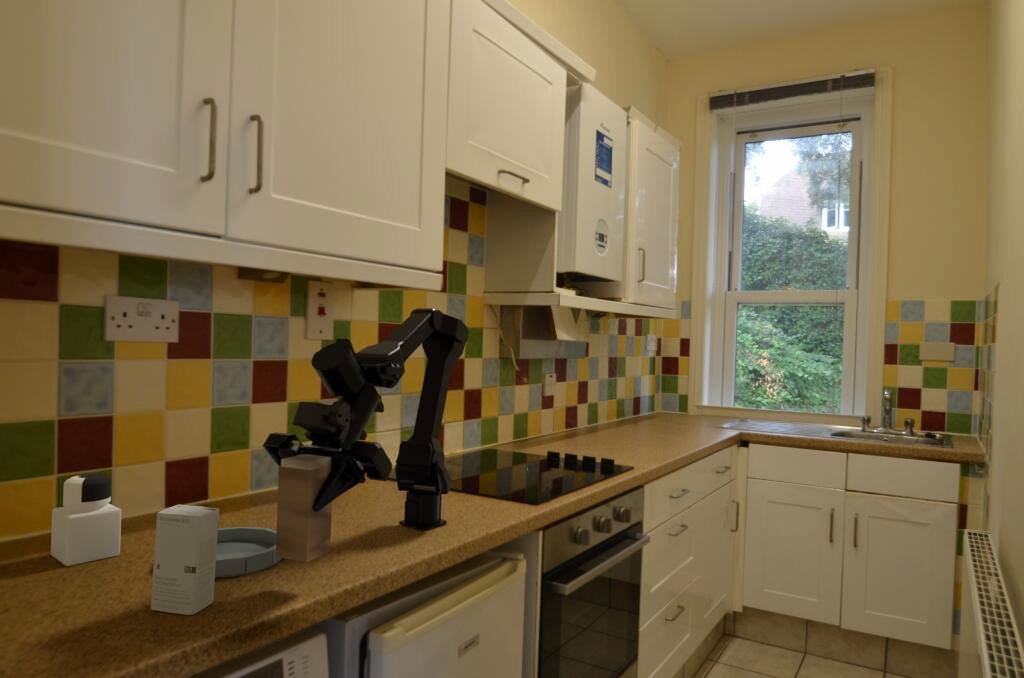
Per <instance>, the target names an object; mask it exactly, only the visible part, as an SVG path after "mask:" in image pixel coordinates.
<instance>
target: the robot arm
mask: <svg viewBox="0 0 1024 678" xmlns="http://www.w3.org/2000/svg"><path fill="white" fill-rule="evenodd" d="M468 339H469V329H468V327H467V325H466V324H465V323H464V322H463V320H462V319H460V318H456V317H454V316H451V315H448V314H446V313H443V312H442V311H441V310H439V309H437V308H429V307H428V308H427V307H426V308H423V307H421V308H420V307H419V308H415V309H412V310H411V312H410V315H409V316H408V317H407V318H406V319H405V320H404V321H403V322H402V323H401V324H400V325H398V327H397V328H395V329H394V331H392V332H391V334H389V335H388V336H387V337H386V338H385V339H384V340H383V341H381V342H379V343H374V344H371V345H368V346H366V347H364V348H362V349H360V350H359V351H358V352H356V351H355V349H354V346H353V344H352V342H351V340H350V339H349V338H338V337H337V338H336V339H335V341H334V342H333V343H330V344H328V345H326V346H324V347H322V348H320V349H319V350H318V351H316V352H315V353H314V354H313V356H312V358H311V366H312V367H313V369H314V371H315V372H316V374H317V376H318V377H319V378H320V380H321V381H322V384H323V385H324V386H325V388H326V390H327V392H328V393H329V394H330V395H331V396H333V397H337V399H336V401H334V402H333V403H332V404H327V403H326V404H325V403H323V402H322V403H321V402H311V401H299V402H298V404H297V406H296V407H297V408H296V410H295V413H294V416H293V417H294V418H293V420H292V423H291V424H292V425H293V426H295V427H300V428H301V429H304V430H305V431H306V432H305V433H304V436H305V437H306V439H307V440H309V441H310V442H311V443H310V444H305V443H303V442H301V440H300V439H299V438H298V436H297V435H296V434H295V433H288V432H287V433H286V432H271V433H270V434H269V435H268V436H267V438H266V439H265V441H264V443H263V444H262V447H263V448H264V449H265V451H266V452H267V453H268V455H270V457H271V458H272V459H273V461H274V462H275V463H276V464H277V466H278V468H279V467H280V466H281V459H284V458H288V457H293V456H297V455H301V454H309V455H318V456H327V457H331V470H330V472H329V474H328V476H327V478H326V480H325V482H324V484H323V486H322V487H321V489H320V491H319V493H318V495H317V497H316V499H315V502H314V504H313V507H312V508H313V510H314V511H315V512H318V511H320V510H321V509H322V508H324V507H325V506H326V505H328V504H329V503H330V502H332V503H333V501H334V500H336V499H337V498H339V497H341V496H342V495H343V494H344V493H346V492H348V491H349V490H351V489H352V488H354V487H356V486H357V485H359V484H365V483H366V481H367V479H366V477H365V476H367V478H368V479H369V480H370V481H371V480H372V481H378V482H379V481H381V482H386V481H387V480H388V479H389V477H390V474H391V472H392V471H393V463H392V462H391V459H390V458H389V455H388V454H387V453H386V451H385V449H384V447H383V446H382V444H381V443H380V442H376V441H369V440H368V441H366V439H367V437H368V434H367V431H366V430H365V429H366V428H367V426H368V424H369V422H370V420H371V418H372V417H373V414H374V413H379V414H380V413H382V414H383V413H384V411H385V404H384V403H383V400H382V395H380V394H379V392H378V390H377V389H379V388H380V389H393V388H394V387H396V386H397V384H398V383H399V382H400V381H401V378H402V377H403V376H404V374H405V373H406V366H405V363H406V361H407V360H408V359H409V358H410V357H411V356H412V355H413V353H414V352H416V350H417V349H418V348H420V346H421V347H422V350H423V353H424V355H425V357H426V365H425V369H424V376H423V380H422V387H421V391H420V396H419V401H418V407H417V412H416V417H415V421H414V427H413V432H412V434H411V435H410V437H409V438H408V439H407V440H402V441H401V442H400V444H399V447H398V455H397V458H396V460H395V467H394V471H395V478H396V484H397V490H398V491H400V492H402V491H403V492H406V494H405V495H406V497H405V501H404V516H403V517H404V518H403V519H402V520H399V521H398V524H399V525H401V526H405V527H408V528H413V529H416V530H419V531H428V530H430V529H433V528H437V527H440V526H442V525H443V526H444V525H446V524H448V520H446V519H442V495H448V494H449V492H450V491H451V488H452V482H453V480H452V477H451V475H450V474H449V471H448V469H447V468H446V466H445V455H446V454H445V452H444V449H443V446H442V445H441V442H440V435H441V429H442V426H443V425H442V423H443V418H444V412H445V407H446V402H447V396H448V390H449V385H450V379H451V374H452V369H453V366H454V365H455V363H456V362H457V361H458V360H459V359H460V358H461V356H462V355H463V354H464V350H465V347H466V343H467V342H468Z"/></svg>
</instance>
